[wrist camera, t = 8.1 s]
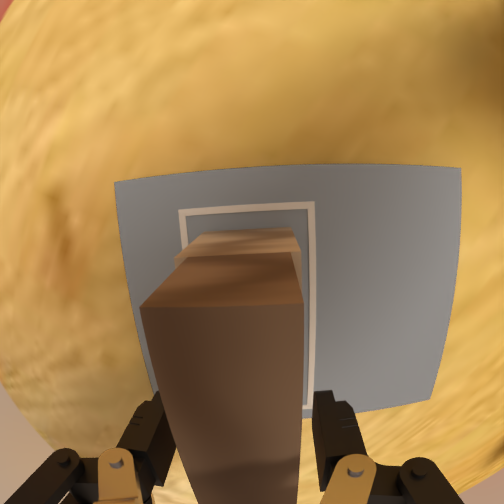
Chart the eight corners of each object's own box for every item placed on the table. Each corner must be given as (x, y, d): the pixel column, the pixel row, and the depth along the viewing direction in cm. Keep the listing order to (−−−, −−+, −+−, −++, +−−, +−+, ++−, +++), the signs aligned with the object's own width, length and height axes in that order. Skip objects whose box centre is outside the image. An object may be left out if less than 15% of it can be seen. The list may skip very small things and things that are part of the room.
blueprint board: (454, 168, 17) (461, 168, 16) (426, 393, 21) (430, 400, 20) (119, 181, 18) (113, 182, 18) (163, 409, 23) (160, 416, 22)
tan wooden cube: (290, 226, 18) (301, 251, 12) (293, 308, 19) (301, 362, 13) (203, 231, 18) (173, 258, 12) (212, 311, 19) (190, 364, 13)
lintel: (290, 252, 12) (304, 303, 7) (291, 457, 15) (294, 528, 10) (187, 256, 12) (138, 306, 7) (221, 458, 15) (208, 527, 10)
